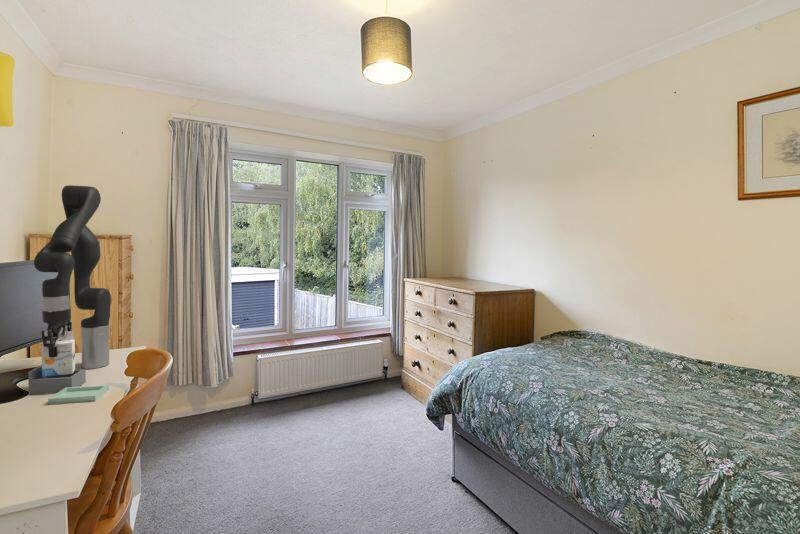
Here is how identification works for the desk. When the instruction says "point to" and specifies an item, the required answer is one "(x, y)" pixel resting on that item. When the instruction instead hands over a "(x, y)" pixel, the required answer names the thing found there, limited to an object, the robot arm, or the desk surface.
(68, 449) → the desk surface
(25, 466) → the desk surface
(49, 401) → the tray
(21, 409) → the desk surface
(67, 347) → the ink box
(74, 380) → the bay
